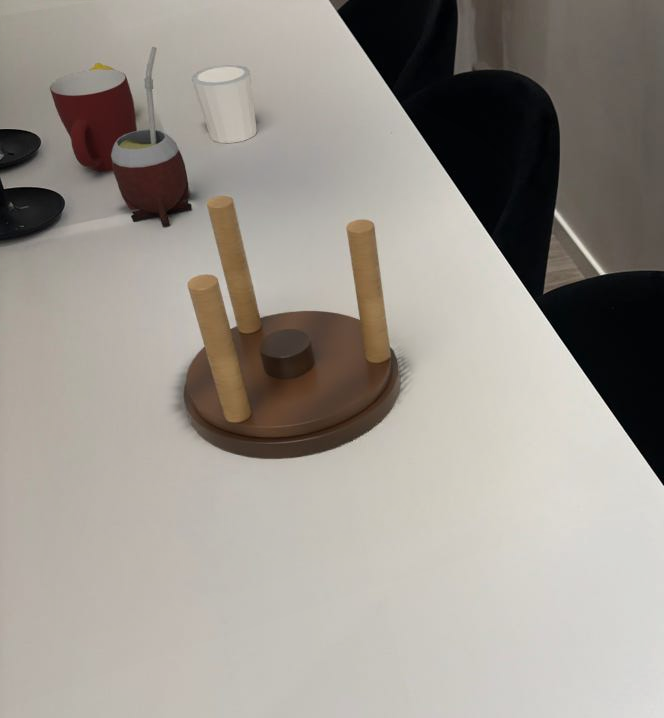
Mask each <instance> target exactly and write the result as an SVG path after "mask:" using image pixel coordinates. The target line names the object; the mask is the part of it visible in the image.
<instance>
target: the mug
mask: <svg viewBox="0 0 664 718" xmlns="http://www.w3.org/2000/svg"><path fill="white" fill-rule="evenodd" d="M49 90H50V93H51V97H52V100H53V103H54V106H55V109H56V112H57V114H58V116H59V119H60V121H61V122H62V125H63V126H64V128H65V131H66V133H67V134H68V136H69V138H70V139H71V140H70V142H71V147H72V148H71V149H72V151H73V154H74V157H75V159H76V160H77V162H78V163H79V164H80V165H82V166H83V167H86V168H90V169H92V170H93V171H97V172H112V171H113V166H112V157H111V154H112V149H113V146H114V144H115V142H116V141H117V140H118V138H120V137H122V136H123V135H125V134H128V133H131V132H134V131H138V128H137V119H136V110H135V105H134V104H135V102H134V98H133V95H132V91H131V88H130V84H129V81H128V78H127V75H126V73H124V72H122V71H120V70H116V69H115V70H109V69H97V70H90V69H88V70H82V71H77V72H74V73H73V72H72V73H71V74H67V75H65V76H62V77H60V78H58V79H56V80H55V81H53V82H52V83H51V85H50V86H49ZM113 172H114V171H113Z"/></svg>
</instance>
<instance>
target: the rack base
mask: <svg viewBox="0 0 664 718" xmlns="http://www.w3.org/2000/svg"><path fill="white" fill-rule="evenodd" d="M390 353H391V361H392V372H391V377H390V380H389V382H388V384H387V386H386V388H385V389H384V391H383V392H382V394H381V395H380V396H379V397H378V398H377V399H376V400H375V401H374V402H373V403H372V404H371V405H370V406H368V407H367V408H366V409H365V410H363V411H362V412H360V413H359V414H357V415H356V416H354V417H352V418H350V419H348V420H346V421H344V422H342V423H339V424H337V425H334V426H332V427H329V428H326V429H323V430H320V431H316V432H312V433H308V434H303V435H296V436H290V437H276V438H272V437H252V436H245V435H240V434H235V433H232V432H228V431H225V430H223V429H220V428H218V427H216V426H214V425H212V424H211V423H209V422H208V421H206V420H205V419H204V418H203V417H201V416H200V415H199V414H198V412H197V411H196V410H195V408H194V407H193V405H192V402H191V400H190V397H189V394H188V390H187V385H186V382H185V383H184V386H183V402H184V406H185V409H186V413H187V417H188V419H189V421H190V423H191V426H192V427H193V429H194V430H195V432H196V433H197V434H198V435H199V436H200V437H201V438H202V439H204V440H205V441H206V442H207V443H209V444H211V445H212V446H214V447H215V448H218V449H220V450H222V451H225V452H228V453H231V454H235V455H239V456H243V457H248V458H256V459H273V460H274V459H290V458H291V459H292V458H298V457H299V458H300V457H306V456H310V455H314V454H320V453H323V452H326V451H330V450H333V449H335V448H339V447H340V446H343V445H345V444H348V443H350V442H352V441H354V440H356V439H357V438H359V437H361V436H363V435H364V434H366V433H368V432H369V431H370V430H372V429H374V428H375V427H376V426H377V425H378V424H379V423H380V422H382V421H383V420H384V418H385V417H387V415H388V414H389V413H390V411H391V410H392V408H393V407H394V405H395V403H397V402H396V401H397V399H398V397H399V393H400V389H401V375H400V366H399V362H398V358H397V356H396V353H395V351H394V350H393V348H392V347H391V346H390Z"/></svg>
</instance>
